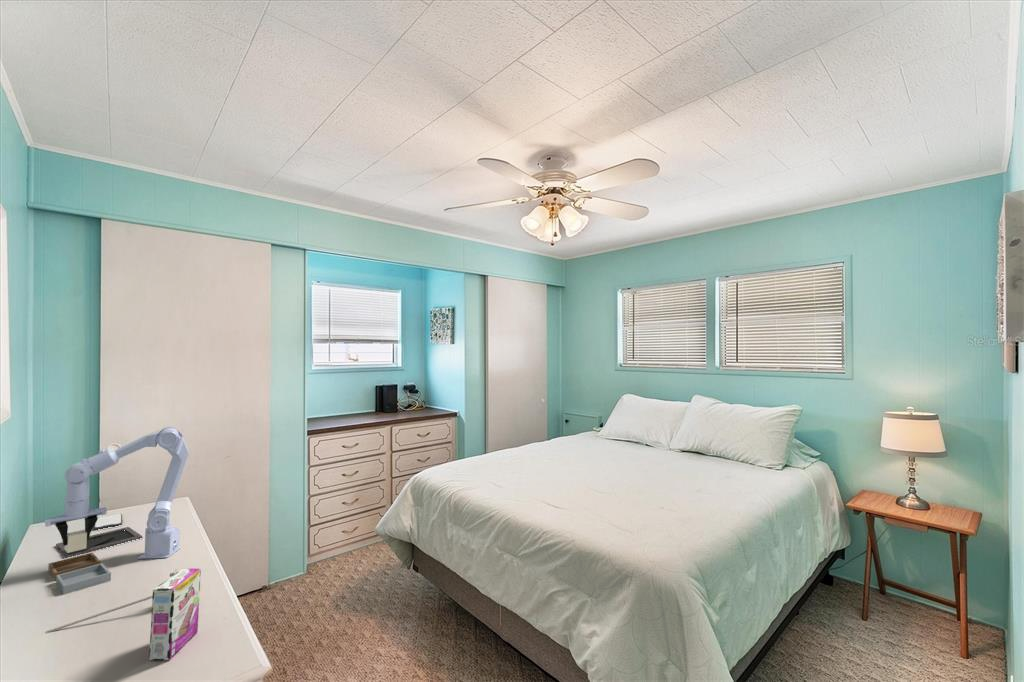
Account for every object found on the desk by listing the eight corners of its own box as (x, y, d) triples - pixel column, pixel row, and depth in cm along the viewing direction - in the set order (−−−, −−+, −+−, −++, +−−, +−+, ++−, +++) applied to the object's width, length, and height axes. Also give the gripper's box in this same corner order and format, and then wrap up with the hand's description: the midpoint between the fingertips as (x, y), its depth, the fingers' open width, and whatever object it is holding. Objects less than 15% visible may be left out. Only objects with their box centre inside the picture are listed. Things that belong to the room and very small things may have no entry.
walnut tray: (100, 568, 150) (100, 561, 151) (54, 581, 142) (55, 573, 142) (92, 559, 157) (92, 552, 157) (48, 571, 148) (48, 563, 148)
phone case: (95, 521, 194) (93, 532, 181) (95, 517, 194) (93, 528, 182) (122, 517, 199) (122, 527, 187) (122, 513, 199) (122, 523, 187)
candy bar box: (170, 661, 106) (173, 589, 107) (148, 662, 106) (150, 590, 106) (199, 632, 117) (201, 567, 118) (179, 632, 117) (181, 567, 117)
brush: (54, 645, 119) (49, 609, 119) (182, 601, 132) (177, 568, 133) (48, 652, 116) (43, 614, 116) (180, 605, 129) (175, 572, 130)
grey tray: (110, 580, 143) (111, 572, 143) (63, 594, 134) (63, 586, 134) (101, 570, 149) (102, 563, 149) (56, 583, 141) (56, 575, 141)
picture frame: (67, 559, 158) (142, 540, 175) (67, 554, 158) (142, 535, 175) (55, 548, 167) (128, 530, 184) (56, 542, 167) (128, 525, 184)
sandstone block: (86, 548, 150) (87, 533, 150) (67, 552, 146) (68, 537, 147) (83, 544, 153) (83, 529, 153) (64, 549, 149) (65, 533, 149)
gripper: (103, 492, 158) (101, 532, 158) (43, 503, 147) (42, 546, 146) (108, 496, 154) (107, 537, 154) (48, 507, 143) (46, 552, 142)
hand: (75, 542), depth 150 cm, fingers closed on sandstone block, 4 cm apart
